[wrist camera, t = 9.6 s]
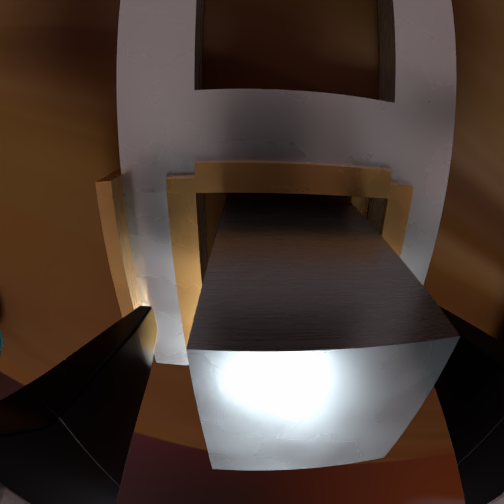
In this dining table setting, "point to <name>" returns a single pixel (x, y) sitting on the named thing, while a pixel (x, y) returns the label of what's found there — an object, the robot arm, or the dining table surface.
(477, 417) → the robot arm
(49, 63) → the dining table surface
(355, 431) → the steel block
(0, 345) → the beverage bottle
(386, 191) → the white flat frame
